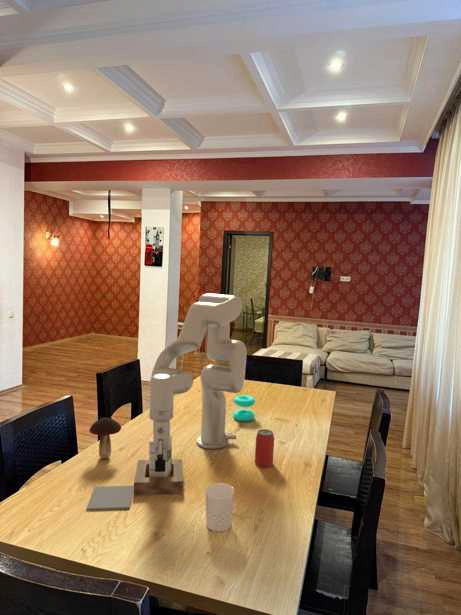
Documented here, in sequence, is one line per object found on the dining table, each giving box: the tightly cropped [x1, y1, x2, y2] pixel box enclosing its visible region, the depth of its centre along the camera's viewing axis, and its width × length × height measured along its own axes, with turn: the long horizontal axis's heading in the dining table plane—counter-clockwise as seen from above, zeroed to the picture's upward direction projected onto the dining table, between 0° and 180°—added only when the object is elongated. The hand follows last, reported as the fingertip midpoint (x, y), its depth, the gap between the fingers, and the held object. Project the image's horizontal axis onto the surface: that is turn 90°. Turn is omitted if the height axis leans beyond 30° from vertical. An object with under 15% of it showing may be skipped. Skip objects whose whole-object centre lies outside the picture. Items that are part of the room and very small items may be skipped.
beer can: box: [254, 428, 275, 469], centre depth 155 cm, size 7×7×12 cm
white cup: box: [205, 482, 235, 533], centre depth 118 cm, size 8×8×10 cm
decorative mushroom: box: [89, 416, 122, 460], centre depth 154 cm, size 11×11×15 cm
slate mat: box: [86, 485, 134, 511], centre depth 129 cm, size 12×12×1 cm
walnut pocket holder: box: [133, 458, 184, 496], centre depth 140 cm, size 15×15×4 cm
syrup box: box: [148, 435, 173, 477], centre depth 139 cm, size 6×6×14 cm
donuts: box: [232, 394, 256, 422], centre depth 200 cm, size 10×10×10 cm
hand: (160, 465), depth 140 cm, fingers closed on syrup box, 7 cm apart
